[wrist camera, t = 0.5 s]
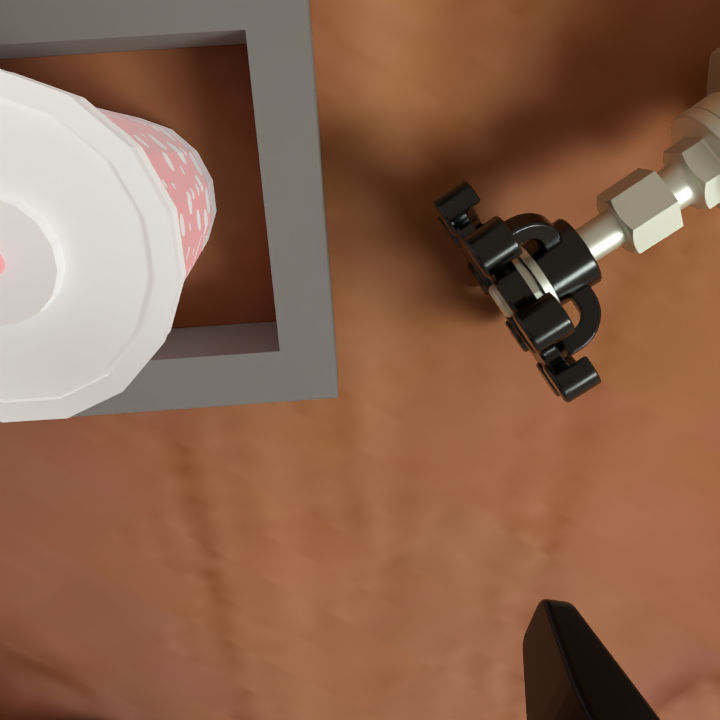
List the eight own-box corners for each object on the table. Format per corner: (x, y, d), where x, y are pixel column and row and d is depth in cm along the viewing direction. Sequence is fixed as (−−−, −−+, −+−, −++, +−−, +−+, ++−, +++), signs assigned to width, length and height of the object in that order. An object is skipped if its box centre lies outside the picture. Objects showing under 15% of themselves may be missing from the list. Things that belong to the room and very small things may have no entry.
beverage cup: (80, 322, 21) (-337, 660, 8) (-4, 120, 19) (-755, 126, 6) (268, 272, 21) (160, 538, 8) (203, 62, 19) (-96, -67, 6)
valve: (784, -71, 18) (416, 188, 20) (1016, -167, 12) (453, 219, 14) (867, 139, 20) (524, 356, 22) (1103, 148, 14) (599, 449, 16)
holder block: (337, 361, 22) (338, 397, 19) (-4, 385, 22) (-54, 425, 19) (307, -22, 18) (303, -48, 15) (-106, 3, 18) (-187, -19, 15)
